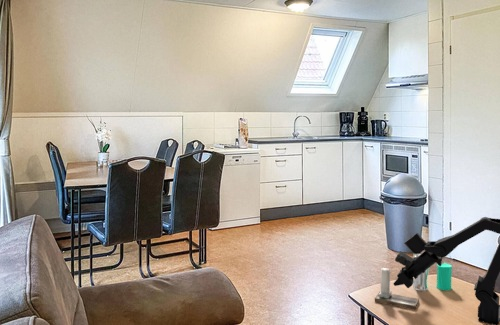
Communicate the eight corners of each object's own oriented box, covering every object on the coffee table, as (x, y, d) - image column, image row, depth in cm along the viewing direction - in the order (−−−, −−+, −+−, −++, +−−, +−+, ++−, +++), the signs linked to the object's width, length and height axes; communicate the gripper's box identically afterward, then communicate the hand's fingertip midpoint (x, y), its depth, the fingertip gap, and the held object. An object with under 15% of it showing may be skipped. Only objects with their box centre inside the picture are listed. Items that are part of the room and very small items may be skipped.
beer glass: (408, 286, 191) (409, 254, 190) (421, 284, 193) (422, 252, 192) (419, 292, 185) (419, 259, 183) (432, 290, 187) (432, 257, 185)
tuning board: (419, 302, 175) (419, 298, 175) (415, 310, 168) (415, 305, 168) (379, 294, 183) (379, 291, 183) (374, 301, 177) (374, 297, 177)
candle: (452, 290, 186) (453, 264, 184) (438, 290, 187) (438, 263, 186) (449, 285, 191) (450, 259, 190) (435, 284, 193) (435, 259, 191)
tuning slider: (391, 294, 179) (391, 268, 178) (387, 299, 174) (387, 273, 173) (381, 292, 181) (382, 266, 180) (377, 297, 176) (377, 271, 175)
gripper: (412, 240, 179) (385, 262, 186) (402, 253, 163) (374, 276, 170) (432, 261, 176) (404, 283, 183) (424, 276, 160) (394, 299, 167)
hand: (394, 284), depth 176 cm, fingers closed
